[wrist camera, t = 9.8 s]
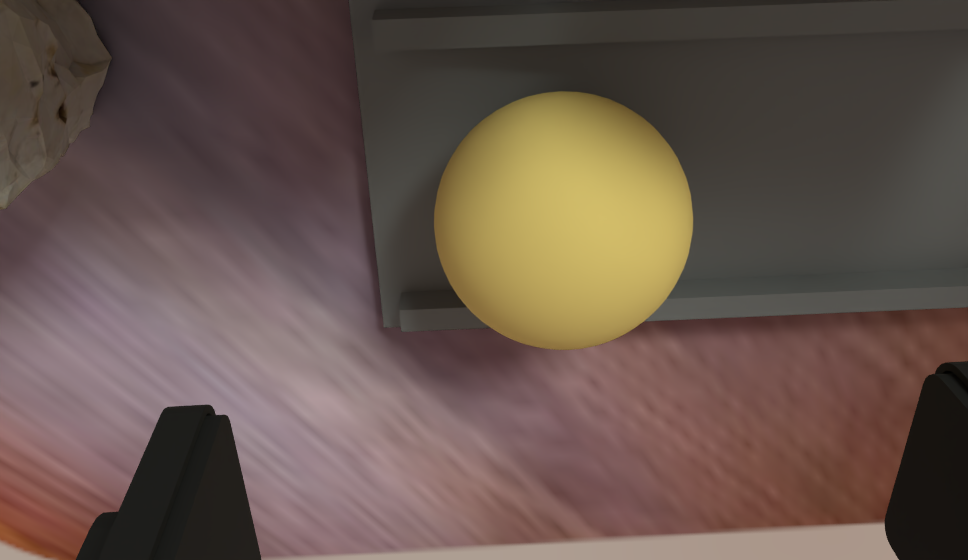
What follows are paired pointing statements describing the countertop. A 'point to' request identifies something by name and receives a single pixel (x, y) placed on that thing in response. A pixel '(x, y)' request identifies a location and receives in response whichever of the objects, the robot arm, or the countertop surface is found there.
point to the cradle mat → (698, 138)
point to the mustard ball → (563, 220)
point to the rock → (44, 86)
